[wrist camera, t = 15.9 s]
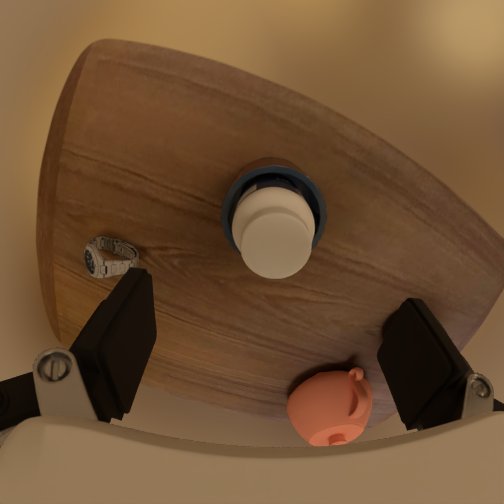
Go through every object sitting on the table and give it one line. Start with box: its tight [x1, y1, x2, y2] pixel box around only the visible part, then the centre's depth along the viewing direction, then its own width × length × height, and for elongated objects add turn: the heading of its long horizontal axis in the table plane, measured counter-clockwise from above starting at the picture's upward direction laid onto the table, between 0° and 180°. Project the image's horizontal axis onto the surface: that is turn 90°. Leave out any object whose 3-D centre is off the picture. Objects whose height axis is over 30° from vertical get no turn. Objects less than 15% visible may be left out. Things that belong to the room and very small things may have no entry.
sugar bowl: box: [287, 367, 372, 446], centre depth 31 cm, size 12×14×10 cm
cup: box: [221, 157, 327, 254], centre depth 22 cm, size 8×8×6 cm
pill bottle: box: [232, 173, 315, 279], centre depth 20 cm, size 5×5×10 cm
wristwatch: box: [84, 236, 139, 278], centre depth 25 cm, size 4×6×5 cm, turn 74°
